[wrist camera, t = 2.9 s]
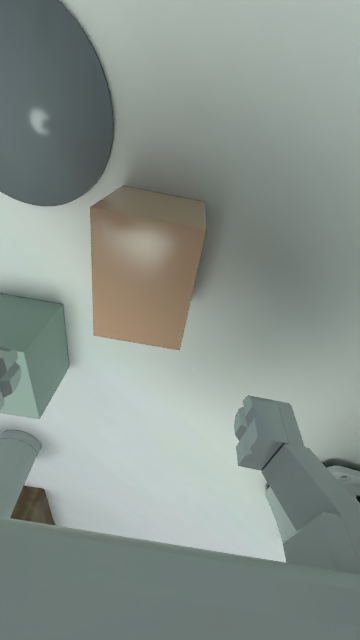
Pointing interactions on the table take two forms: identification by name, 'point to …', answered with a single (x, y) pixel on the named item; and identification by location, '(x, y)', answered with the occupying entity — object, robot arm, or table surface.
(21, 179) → the slate coaster
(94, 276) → the peach smooth rectangular block
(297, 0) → the table surface
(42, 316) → the pale green upright block
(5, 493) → the cup
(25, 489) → the walnut planter box
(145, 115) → the table surface
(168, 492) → the table surface
